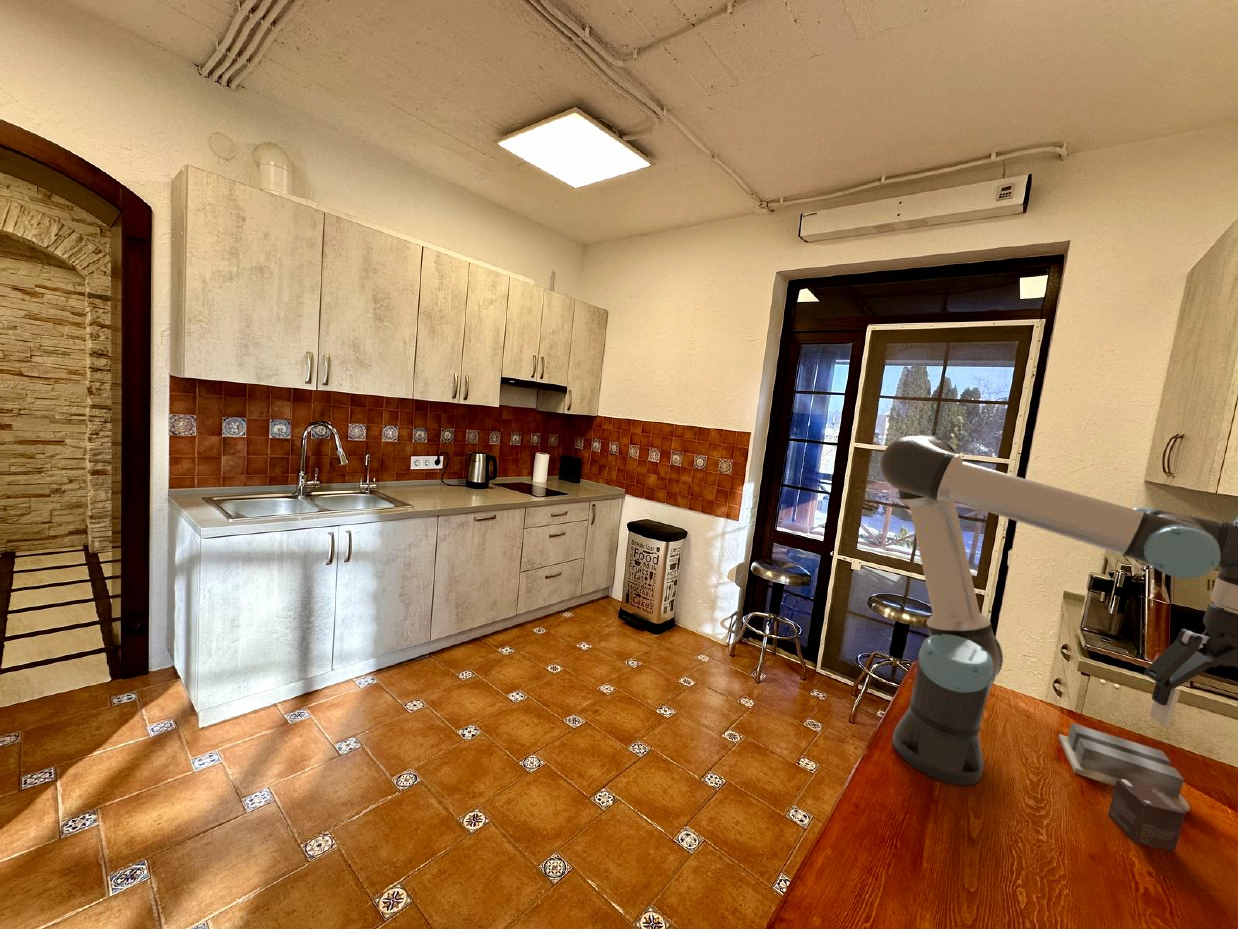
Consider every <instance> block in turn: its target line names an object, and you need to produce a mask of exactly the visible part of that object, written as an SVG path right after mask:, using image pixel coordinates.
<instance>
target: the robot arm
mask: <svg viewBox="0 0 1238 929" xmlns="http://www.w3.org/2000/svg"><path fill="white" fill-rule="evenodd" d="M879 464H880V471H881V474H882V476H883V478H884V479H885V480H886V482H887V483H888V484H889V485H890V486H892V487H893V488H894V489H897V492H898V495H899V500H900V502H902V503H903V504H905V505H906V506H908V507H909V510H910V514H911V520H912V525H913V529H914V534H915V537H916V538H915V539H916V542H917V543H916V544H917V547H918V551H919V557H920V562H921V566H922V570H923V576H924V579H925V585H926V589H927V593H928V598H929V602H930V603H929V604H930V607H931V613H932V614H931V616H930V617H929V618H928V619H927V620H926V626H927V631H928V636H929V637H927V638H925V639H924V641H923V642H922V644H921V647H920V649H919V652H918V658H917V659H918V661H917V667H916V670H915V671H916V672H915V678H914V683H913V687H912V692H911V697H910V703H909V706H908V708H907V710H906V712H905V713H904V715H903V716H902V717H901V718H900V720H899V721H898V723H897V725H896V726H895V728H894V729H893V730H894V731H893V735H892V736H893V737H892V744H893V746H894V749H895V750H896V752H897V753H898V754H899V755H900V757H901V758H902V759H904V761H906V762H907V763H908V764H910V765H911V766H912V767H913V768H915V769H916V770H918V771H920V772H921V773H923V774H925V775H927V776H929V777H931V778H933V779H935V780H938V781H941V782H943V783H944V782H945V783H947V784H951V785H956V786H971V785H974V784H977V783H979V782H980V780H981V779H982V775H983V771H984V760H983V755H982V754H983V753H982V749H981V748H982V747H981V742H980V736H979V733H980V728H981V725H982V720H983V715H984V713H985V708H986V704H987V699H988V696H989V693H990V691H991V689H992V686H993V685H994V682H995V681H996V678H997V676H998V675H999V674H1000V672H1001V669H1002V666H1003V662H1004V656H1003V650H1002V647H1001V644H1000V642H999V641H998V639H997V636H995V635H994V632H993V627H992V624H991V620H990V618H988V617H986V616H985V615H983V614H982V613H981V612H980V608H979V603H978V599H977V595H976V591H975V586H974V583H973V578H972V573H971V569H970V568H971V567H970V563H969V559H968V555H967V550H966V545H965V541H964V537H963V532H962V529H961V523H960V518H959V514H958V510H957V505H956V503H960V504H963V505H966V506H969V507H972V508H975V509H979V510H981V511H985V512H987V513H991V514H994V515H997V516H1000V517H1004V518H1007V519H1010V520H1012V521H1015V522H1019V523H1022V524H1025V525H1027V526H1031V527H1034V528H1038V529H1040V530H1044V531H1047V532H1050V533H1053V534H1056V535H1059V536H1061V537H1066V538H1069V539H1072V540H1074V541H1078V542H1081V543H1083V544H1087V545H1091V546H1094V547H1097V548H1100V549H1102V550H1105V551H1108V552H1112V553H1115V554H1118V555H1121V556H1124V557H1126V558H1129V559H1132V560H1134V561H1137V562H1141V563H1144V564H1147V565H1150V566H1151V567H1152V568H1154V569H1155V570H1157V571H1159V572H1161V573H1163V574H1165V575H1168V576H1171V577H1175V578H1181V579H1193V578H1194V579H1195V578H1199V577H1200V578H1201V577H1203V576H1205V575H1208V574H1209V573H1211V572H1213V571H1214V570H1215V569H1216V568H1218V569H1219V572H1218V574H1217V577H1216V580H1215V583H1214V585H1213V589H1212V591H1211V594H1210V597H1209V598H1210V600H1211V601H1212V602H1211V603H1208V604H1207V608H1206V611H1205V613H1204V616H1203V619H1202V622H1203V624H1204V625H1205V630H1204V631H1203V632H1202V633H1201V634H1199V633H1195V632H1193V631H1192V630H1189V629H1186V628H1182V629H1180V630H1179V633H1178V635H1177V637H1176V639H1175V641H1174V642H1172V643H1171V644H1170V645H1169V646H1168V647H1167V648H1166V649H1165V650H1164V651H1163V652H1162V653H1161V654H1160V655H1159V656H1158V657H1157V658H1156V659H1155V660H1154V661H1153V662H1152V663H1151V664H1150V665H1149V666H1148V667H1147V668H1146V669H1145V670H1144V671H1143V674H1144V675H1145V676H1146V677H1148V678H1149V679H1151V680H1152V681H1154V682H1155V685H1154V689H1153V692H1152V695H1151V700H1153V704H1152V706H1151V710H1150V713H1149V717H1151V718H1152V719H1153V720H1155V721H1156V722H1157V723H1159V724H1160V725H1162V726H1163V727H1167V728H1169V727H1170V725H1171V722H1172V719H1173V717H1174V716H1173V715H1174V712H1175V709H1176V707H1177V703H1178V700H1179V697H1180V694H1181V691H1180V690H1179V689H1177V688H1178V687H1180V686H1182V685H1183V684H1185V683H1187V682H1188V681H1190V680H1191V679H1193V678H1194V677H1196V676H1198V675H1199V674H1201V673H1203V672H1205V671H1206V670H1208V669H1209V668H1217V667H1218V666H1219V667H1220V665H1221V666H1223V667H1235V668H1237V669H1238V515H1237V516H1236V518H1235V520H1233V522H1229V521H1220V520H1219V521H1218V520H1213V519H1208V518H1203V517H1197V516H1192V515H1187V514H1181V513H1176V512H1175V513H1174V512H1170V511H1166V510H1165V511H1164V510H1162V509H1158V508H1157V509H1151V508H1146V507H1140V506H1139V507H1138V506H1137V507H1134V508H1131V507H1127V506H1123V505H1120V504H1116V503H1112V502H1108V501H1105V500H1102V499H1098V498H1094V497H1092V496H1091V497H1090V496H1087V495H1085V494H1080V493H1078V492H1077V493H1076V492H1073V491H1069V490H1065V489H1062V488H1058V487H1055V486H1051V485H1049V484H1044V483H1040V482H1037V481H1034V480H1031V479H1026V478H1023V477H1020V476H1016V475H1012V474H1008V473H1005V472H1002V471H998V470H994V469H990V468H987V467H984V466H979V465H977V464H972V463H969V462H965V461H964V460H963V458H962V456H961V455H960V454H958V453H957V451H956V449H955V448H954V447H953V445H952V444H951V443H949V442H948V441H946V440H944V439H943V438H941V437H938V436H935V435H932V434H931V435H929V434H925V435H924V434H923V435H915V436H914V435H912V436H905V437H900V438H898V439H896V440H894V441H892V442H891V443H890V444H888V445H887V446H886V448H885V449H884V451H883V452H882V455H881V457H880V463H879Z"/></svg>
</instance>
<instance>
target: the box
mask: <svg viewBox="0 0 1238 929" xmlns="http://www.w3.org/2000/svg"><path fill="white" fill-rule="evenodd" d="M1186 813H1187V811H1184V810H1182V809H1181V808H1180V807H1179V806H1178V805H1177V804H1175V803H1174V802H1173V801H1172V800H1171V799H1170V798H1169V797H1168V796H1167V795H1165V794H1164V793H1163V792H1162V791H1161V790H1160V789H1159V788H1158V787H1157V786H1154V785H1149V784H1144V783H1138V782H1133V781H1128V780H1123V779H1117V781H1116V785H1115V786H1114V790H1113V794H1112V798H1111V801H1110V807H1109V810H1108V813H1107V815H1108V816H1109V817H1110V818H1111V819H1112V820H1113V822H1115V823H1116V824H1117V825H1118V827H1120V829H1122V830H1123V832H1124V833H1125V834H1126V835H1127V836H1128V837H1129V838H1130V839H1131V840H1132V842H1134V843H1136V844H1141V845H1145V846H1151V847H1155V848H1159V849H1164V850H1168V851H1169V850H1170V851H1174V852H1175V851H1176V848H1177V844H1178V841H1179V838H1180V834H1181V831H1182V827H1183V825H1184V824H1183V823H1184V820H1185V819H1184V818H1185V816H1186Z"/></svg>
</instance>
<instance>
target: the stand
mask: <svg viewBox="0 0 1238 929" xmlns="http://www.w3.org/2000/svg"><path fill="white" fill-rule="evenodd" d="M1058 740H1059V743H1060V745H1061V747H1062V749H1063V751H1064V753H1065V755H1066V757H1067V760H1068V763H1069V764H1070V766H1071V768H1072V771H1073V773H1075V774H1078V775H1080V776H1083V777H1087V778H1088V779H1093V780H1094V781H1099V783H1100V782H1101V783H1103V784H1106V785H1109V786H1113V787H1115V785H1116V781H1117V779H1123V780H1128V781H1133V782H1138V783H1144V784H1149V785H1154V786H1157V787H1158V788H1159V789H1160V790H1161V791H1162V792H1163V793H1164V794H1165V795H1167V796H1168V797H1169V798H1170V799H1171V800H1172V801H1173V802H1174V803H1175V804H1177V805H1178V806H1179V807H1180V808H1181V809H1182V810H1183V811H1184V812H1186V813H1187V812H1188V813H1189V812H1190V806H1189V804H1188V802H1187V801H1186V800H1185V798H1184V796H1182V794H1181V791H1182V787H1183V784H1184V781H1185V780H1184V778H1183V777H1182V775H1181V774H1180V772H1179V771H1178V770H1177V769H1176V767H1173V766H1170V765H1171V761H1170V758H1169V757H1168V756H1167V754H1165V752H1164V751H1163V750H1160V749H1157V748H1153V747H1150V746H1149V745H1148V746H1147V745H1144V744H1141V743H1137V742H1133V741H1130V740H1128V739H1125V738H1122V737H1118V736H1114V735H1111V734H1108V733H1106V732H1102V731H1099V730H1096V729H1092V728H1089V727H1087V726H1086V727H1085V726H1083V725H1079V724H1077V723H1073V722H1071V724H1070V728H1069V731H1068V735H1063V734H1061V733H1059V734H1058Z"/></svg>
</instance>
